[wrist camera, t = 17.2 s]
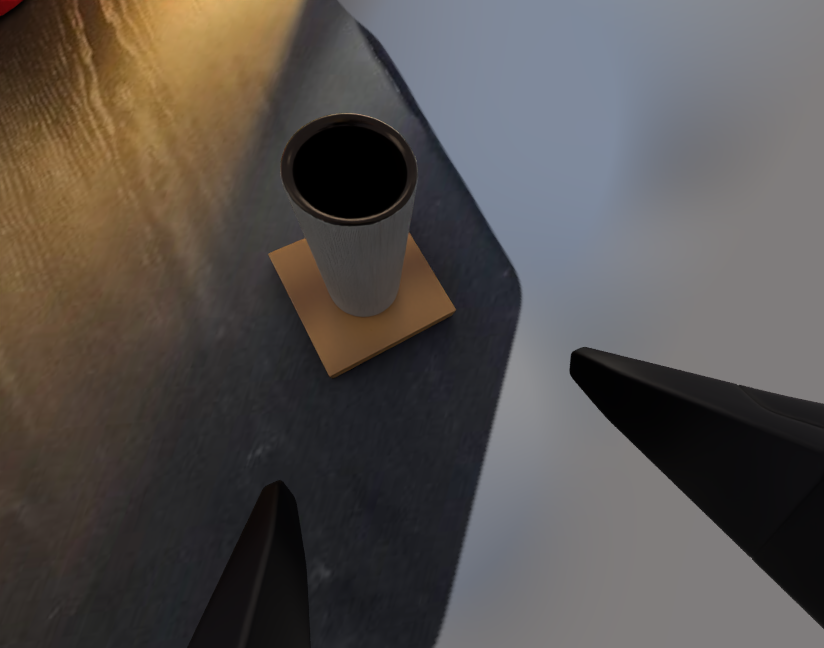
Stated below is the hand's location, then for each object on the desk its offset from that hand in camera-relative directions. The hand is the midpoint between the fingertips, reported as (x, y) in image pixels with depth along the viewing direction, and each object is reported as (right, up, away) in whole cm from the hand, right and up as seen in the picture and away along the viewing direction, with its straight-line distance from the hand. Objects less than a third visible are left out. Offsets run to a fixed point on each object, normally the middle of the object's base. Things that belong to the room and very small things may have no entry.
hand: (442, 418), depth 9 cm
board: (-4, +5, +12) cm, 14 cm away
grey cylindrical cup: (-4, +5, +11) cm, 13 cm away
